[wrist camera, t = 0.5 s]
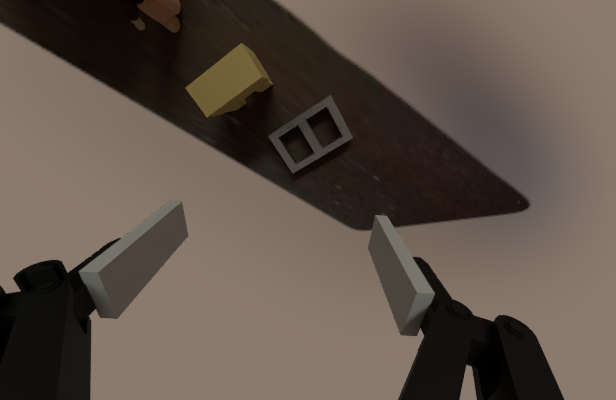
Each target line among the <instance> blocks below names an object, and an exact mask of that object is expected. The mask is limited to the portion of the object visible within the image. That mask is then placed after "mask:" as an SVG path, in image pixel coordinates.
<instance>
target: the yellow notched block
mask: <svg viewBox="0 0 616 400" xmlns="http://www.w3.org/2000/svg"><path fill="white" fill-rule="evenodd" d="M271 85H273V83H272V82H271V80H270V78H269V77H268V75H267V73H266V72H265V70H264V68H263V67H262V65H261V63H260V62H259V60H258V59H257V57H256V56H255V54H254V52H253V51H251V50H250V49H249V48H247V47H246V46H245V45H244V44H242V43H241V44H240V45H239V46H237V47H236V48H235V49H234V50H232V51H231V52H230V53H228V54H227V55H226V56H225V57H223V58H222V59H221V60H220V61H218V62H217V63H216V64H215V65H213V66H212V67H211V68H210V69H208V70H207V71H206V72H205V73H203V74H202V75H201V76H200V77H198V78H197V79H196V80H195V81H193V82H192V83H191V84H190V85H188V86H187V87H186V90H187V91H188V92H189V94H190V95H191V97H192V98H193V99H194V101H195V102H196V103H197V105H198V106H199V107H200V109H201V110H202V111H203V113H204V114H205V115H206V117H211V116H217V115H222V114H224V113H225V112H230V111H236V110H238V109H239V108H241V107H242V106H243V105H245V104H246V102H245V100H244V98H246V97H247V96H249V95H250V94H251V93H253V92H254V91H257V92H263V91H264V90H266V89H267V88H269V87H270V86H271Z"/></svg>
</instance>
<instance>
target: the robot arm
mask: <svg viewBox="0 0 616 400" xmlns="http://www.w3.org/2000/svg"><path fill="white" fill-rule="evenodd" d="M187 237H188V232H187V228H186V222H185V216H184V210H183V205H182V202H181V201H169V202H168V203H167V204H165V205H164V206H163V207H162V208H160V209H159V210H158V211H157V212H155V213H154V214H152V215H151V216H150V217H149V218H147V219H146V220H145V221H143V222H142V223H141V224H140V225H138V226H137V227H136V228H134V229H133V230H132V231H130V232H129V233H128V234H126V235H125V236H124V237H123V238H118V239H116V240H114V241H112V242H110V243H108V244H106V245H105V246H103V247H102V248H101V249H99V251H97V252H96V253H94V254H93V255H92V256H91V257H89V258H88V259H86V260H85V261H84V262H82V263H81V264H80V265H78V266H77V267H75V268H74V269H73V270H71V271H70V272H68V273H67V271H66V269H65V267H64V265H63V263H62V262H61V261H59V260H49V261H43V262H39V263H37V264H33V265H31V266H29V267H27V268H25V269H23V270H21V271H20V272H19V273H17V274H16V275H15V276H14V278H13V279H14V281H15V282H16V284H17V285H18V287H19V289H20V290H21V291H20V292H14V293H8V294H6V293H5V291H4V290H3V288H2V287H1V286H0V400H90V373H91V372H90V371H91V320H90V318H89V315H90V314H91V313H92V312H93V311H94V310H95V309H96V310H97V312H98V314H99V316H100V318H114V319H117V318H118V317H119V316H120V315H121V314H122V313H123V311H124V310H125V309H126V308H127V306H129V304H130V303H131V302H132V301H133V300H134V298H135V297H136V296H137V295H138V294H139V293H140V291H141V290H142V289H143V288H144V287H145V286H146V284H147V283H148V282H149V281H150V280H151V279H152V277H153V276H154V275H155V274H156V273H157V272H158V270H159V269H160V268H161V267H162V266H163V265H164V263H165V262H166V261H167V260H168V259H169V258H170V256H171V255H172V254H173V253H174V251H176V249H177V248H178V247H179V246H180V245H181V244H182V242H183V241H184V240H185V239H186V238H187ZM368 249H369V252H370V254H371V257H372V260H373V262H374V265H375V268H376V270H377V273H378V276H379V278H380V281H381V284H382V287H383V289H384V292H385V295H386V297H387V300H388V303H389V305H390V308H391V311H392V313H393V316H394V319H395V321H396V324H397V327H398V329H399V332H400V334H401V335H407V336H417V334H418V332H419V329H420V328H421V330H422V332H423V334H424V338H423V340H422V342H421V345H420V347H419V349H418V352H417V355H416V357H415V360H414V362H413V365H412V367H411V370H410V372H409V375H408V377H407V379H406V382H405V384H404V387H403V389H402V391H401V394H400V396H399V399H398V400H459V399H460V393H461V388H462V383H463V378H464V373H465V368H466V365H469V366H472V369H473V376H474V382H475V390H476V396H477V400H564V398H563V396H562V393H561V391H560V389H559V387H558V384H557V382H556V380H555V378H554V375H553V373H552V371H551V369H550V366H549V364H548V362H547V360H546V357H545V355H544V353H543V351H542V348H541V346H540V344H539V342H538V339H537V337H536V336H535V334H534V333H533V332H532V330H530V329H529V328H528V327H527V326H526V325H525V324H523V323H522V322H520V321H519V320H517V319H515V318H512V317H510V316H506V315H499V316H497V317H496V318H495V320H494V322H493V321H490V320H486V319H483V318H480V317H477V316H474V315H473V314H472V312H471V311H470V310H469V309H468V308H467V307H466V306H465V305H463V304H462V303H460V302H458V301H456V300H452V298H451V296H450V295H449V294H448V292H447V291H446V289H445V288H444V287H443V285H442V284H441V282H440V281H439V279H438V278H437V276H436V275H435V273H434V272H433V270H432V269H431V267H430V266H429V265H428V263H426V262H425V261H424V260H423V259H421V258H420V257H412V256H411V254H410V253H409V251H408V249H407V248H406V246H405V245H404V243H403V241H402V240H401V238H400V237H399V235H398V233H397V232H396V230H395V229H394V227H393V225H392V224H391V222H390V221H389V219H388V217H387V216H379V215H376V216H375V220H374V224H373V229H372V233H371V237H370V242H369V246H368Z"/></svg>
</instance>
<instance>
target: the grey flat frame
mask: <svg viewBox="0 0 616 400" xmlns="http://www.w3.org/2000/svg"><path fill="white" fill-rule="evenodd" d="M325 107H327V109H328V110H329V112H330V114H331V116H332V118H333V120H334V122H335V124H336V125H337V127H338V129H339V131H340V133H341V135H339V136H338V137H336V138H334V139H333V140H331V141H329V142H328V143H326V144H324V145H323V146H322V145H321V143H320V142H319V140H318V138H317V137H316V135H315V133H314V131H313V130H312V128H311V126H310V124H309V123H308V121H307V119H308V118H310V117H311V116H313V115H314V114H316V113H317V112H319V111H320V110H322V109H323V108H325ZM297 125H298V126H299V128H300V129H301V131H302V133H303V134H304V136H305V138H306V139H307V141H308V143H309V144H310V146H311V148H312V149H313V152H311V153H309V154H308V155H306V156H304V157H303V158H301V159H299V160H298V161H296V160H295V158H294V157H293V155H292V153H291V152H290V150H289V149H288V147H287V146H286V144H285V142H284V141H283V139H282V138H281V136H282V135H283V134H285V133H286V132H288V131H289V130H291V129H292V128H294V127H296V126H297ZM268 137H269V138H270V140H271V141H272V143H273V144H274V146H275V147H276V149H277V150H278V152H279V153H280V155H281V156H282V158H283V159H284V161H285V162H286V164H287V165H288V167H289V169H290V170H291V172H292V173H295V172H296V171H298V170H300V169H301V168H303V167H305V166H306V165H308V164H310V163H311V162H313V161H315V160H317V159H318V158H320V157H322V156H323V155H325V154H327V153H328V152H330V151H332V150H334V149H335V148H337V147H339V146H340V145H342V144H344V143H345V142H347V141H349V140H350V139H352V138H353V137H352V135H351V133H350V132H349V130H348V128H347V126H346V124H345V122H344V120H343V118H342V116H341V114H340V112H339V110H338V108H337V106H336V104H335V102H334V100H333V99H332V97H331V95H329V96H328V97H326V98H325V99H323V100H322V101H320V102H319V103H317V104H316V105H314V106H313V107H311V108H309V109H308V110H306V111H305V112H303V113H302V114H300V115H299V116H297V117H296V118H294V119H293V120H291V121H290V122H288V123H287V124H285V125H284V126H282V127H280V128H279V129H277V130H276V131H274V132H273V133H271V134H270V135H269V136H268Z"/></svg>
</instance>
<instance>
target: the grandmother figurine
mask: <svg viewBox="0 0 616 400" xmlns="http://www.w3.org/2000/svg"><path fill="white" fill-rule="evenodd" d="M117 1H118V2H119V4H120V6H121V7H122V9H123V11H124V12H125V14H126V16H127V17H128V18H129V19H130V20H131V21H132V23H133V24H135V26H136V28H137V29H139V30H144V29H145V24H144V23H143V21H141V18H140V17H139V15H138V8H139V9H141V10H142V11H143V12H144V13H146V14H147V15H148V16H150V17H151V18H153V19H154V20H156V21H158V22H160V23H161V24H162V25H163V26H164V27H166V28H167V29H168V30H170V31H171V32H173V33H176V32H178V31H179V29H180V22H179V20H178V18H177V17H176V16H174V15H177V14H179V12H180V9H181V5H180V2H179V0H117ZM137 7H138V8H137Z"/></svg>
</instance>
